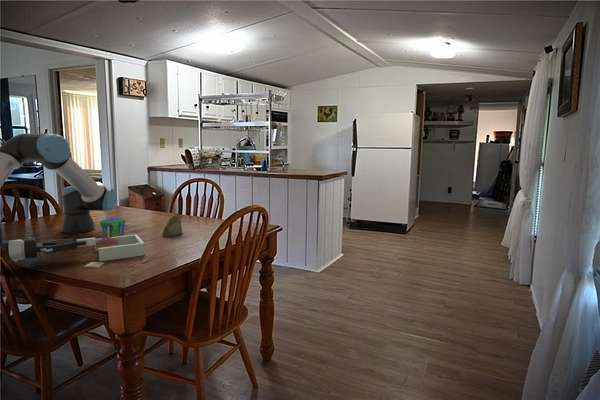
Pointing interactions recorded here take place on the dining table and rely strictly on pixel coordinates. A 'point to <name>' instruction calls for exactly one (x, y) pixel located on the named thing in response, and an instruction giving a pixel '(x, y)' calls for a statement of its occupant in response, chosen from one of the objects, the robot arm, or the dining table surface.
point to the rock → (173, 226)
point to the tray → (122, 248)
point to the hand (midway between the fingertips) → (95, 241)
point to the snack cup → (113, 227)
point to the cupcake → (106, 241)
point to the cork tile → (94, 265)
